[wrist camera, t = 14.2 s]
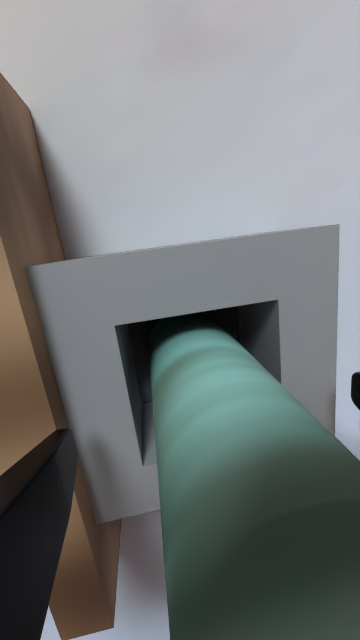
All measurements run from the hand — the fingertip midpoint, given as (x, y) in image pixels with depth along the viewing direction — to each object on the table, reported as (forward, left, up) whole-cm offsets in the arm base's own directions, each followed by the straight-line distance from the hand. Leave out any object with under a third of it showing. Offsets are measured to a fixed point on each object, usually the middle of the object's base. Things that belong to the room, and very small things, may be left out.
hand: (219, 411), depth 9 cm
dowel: (0, 0, -6) cm, 6 cm away
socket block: (0, 0, -6) cm, 6 cm away
